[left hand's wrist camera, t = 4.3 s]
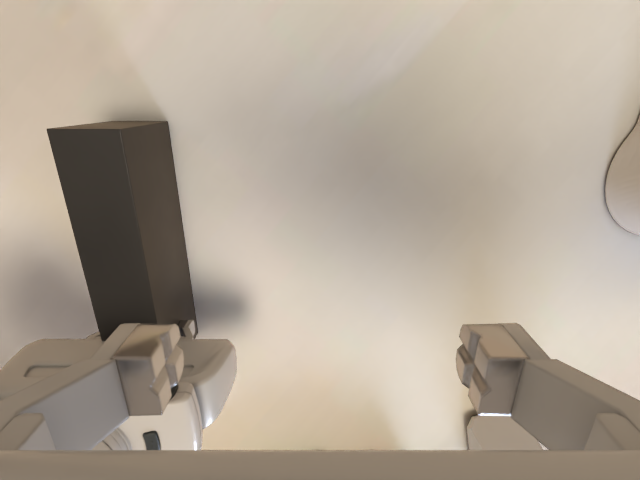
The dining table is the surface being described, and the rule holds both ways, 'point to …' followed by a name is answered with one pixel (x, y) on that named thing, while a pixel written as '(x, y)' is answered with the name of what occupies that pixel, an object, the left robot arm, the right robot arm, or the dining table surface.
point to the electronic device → (499, 434)
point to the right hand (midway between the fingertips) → (157, 325)
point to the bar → (126, 220)
